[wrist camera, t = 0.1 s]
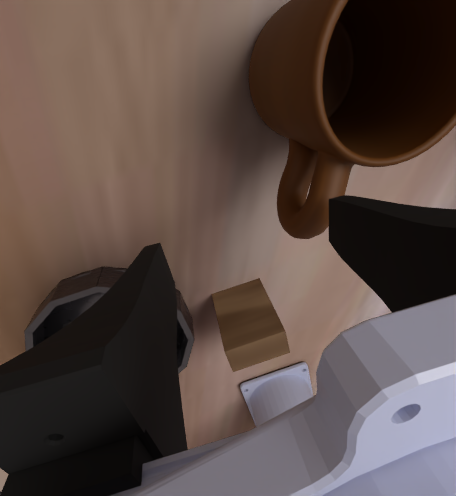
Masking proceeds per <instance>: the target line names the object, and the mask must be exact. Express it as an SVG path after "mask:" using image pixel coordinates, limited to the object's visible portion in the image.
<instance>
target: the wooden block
mask: <svg viewBox="0 0 456 496" xmlns="http://www.w3.org/2000/svg"><path fill="white" fill-rule="evenodd" d="M212 297H213V302H214V306H215V311H216V315H217V320H218V324H219V329H220V333H221V337H222V342H223V346H224V351H225V354H226V356H227V359H228V361H229V363H230V366H231V368H232V371H233V372H235V371H238V370H241V369H243V368H246V367H249V366H252V365H255V364H258V363H261V362H264V361H267V360H270V359H272V358H275V357H278V356H281V355H284V354H287V353H290V350H289V346H288V341H287V337H286V332H285V330H284V327H283V325H282V323H281V321H280V319H279V317H278V315H277V313H276V311H275V309H274V307H273V305H272V303H271V301H270V299H269V297H268V295H267V293H266V291H265V289H264V287H263V285H262V283H261V281H260V279H256V280H253V281H250V282H247V283H244V284H241V285H238V286H235V287H232V288H229V289H226V290H223V291H220V292H217V293H214V294H212Z"/></svg>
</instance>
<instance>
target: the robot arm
mask: <svg viewBox="0 0 456 496" xmlns="http://www.w3.org/2000/svg"><path fill="white" fill-rule="evenodd" d="M329 242H330V243H331V245H332V246H333V248H334V249H335V250H336V252H337V253H338V254H339V256H340V257H341V258H342V259H343V260H344V261H345V262H346V263H347V264H348V265H349V267H350V268H351V269H352V270H353V271H354V272H355V273H356V274H357V275H358V276H359V277H360V278H361V279H362V280H363V281H364V282H365V283H366V284H367V285H368V286H369V287H370V288H371V289H372V290H373V291H374V292H375V293H376V294H377V295H378V296H379V297H380V298H381V299H382V300H383V302H384V303H385V304H386V305H387V307H388V308H389V309H390V310H391V312H392V313H390V314H386V315H383V316H379V317H376V318H372V319H369V320H366V321H363V322H361V323H359V324H357V325H355V326H353V327H351V328H349V329H347V330H345V331H343V332H341V333H340V334H339V335H338V336H337V337H336V338H335V339H334V340H333V341H332V342H331V343H330V344H329V345H328V346H327V347H326V348H325V349H324V351H323V353H322V356H321V359H320V362H319V365H318V368H317V372H316V376H317V394H316V395H315V396H313V392H312V387H311V381H310V376H309V370H308V366H307V364H306V363H305V362H302V363H299V364H296V365H293V366H290V367H287V368H284V369H281V370H278V371H276V372H273V373H270V374H267V375H264V376H261V377H258V378H255V379H253V380H250V381H247V382H244V383H242V384H241V385H240V388H241V391H242V394H243V396H244V398H245V401H246V403H247V406H248V408H249V411H250V413H251V415H252V418H253V420H254V423H255V425H256V427H255V428H253V429H252V430H250V431H247V432H244V433H240V434H237V435H234V436H231V437H228V438H224V439H221V440H218V441H215V442H211V443H208V444H205V445H202V446H199V447H195V448H192V449H189V450H188V449H187V442H186V435H185V427H184V419H183V411H182V403H181V394H180V385H179V375H178V365H177V297H176V289H175V282H174V280H173V277H172V274H171V271H170V268H169V266H168V263H167V260H166V257H165V255H164V252H163V249H162V246H161V244H160V243H157V244H153V245H149V246H146V247H144V248H143V250H142V251H141V252H140V253H139V255H138V256H137V257H136V259H135V260H134V261H133V262H132V264H131V265H130V266H129V268H128V269H127V270H126V271H125V273H124V274H123V275H122V276H121V277H120V278H119V279H118V280H117V282H116V283H115V284H114V285H113V286H112V287H111V288H110V289H109V290H108V291H107V292H106V293H105V294H104V295H103V296H102V297H101V298H100V299H99V300H98V301H97V302H96V303H94V304H93V305H92V306H91V307H90V308H89V309H87V310H86V311H85V312H84V313H82V314H81V315H80V316H78V317H77V318H76V319H75V320H73V321H72V322H71V323H69V324H68V325H67V326H65V327H64V328H62V329H61V330H59V331H58V332H56V333H55V334H53V335H52V336H50V337H49V338H47V339H46V340H44V341H43V342H41V343H39V344H38V345H36V346H34V347H33V348H31V349H29V350H27V351H26V352H24V353H22V354H20V355H18V356H17V357H15V358H13V359H11V360H10V361H8V362H6V363H4V364H2V365H0V468H1V469H2V470H4V471H5V472H6V473H8V474H9V475H8V477H7V480H6V482H5V485H4V487H3V490H2V492H0V496H456V209H441V208H428V207H419V206H412V205H404V204H398V203H391V202H386V201H380V200H374V199H368V198H363V197H356V196H345V195H342V196H338V197H334V198H331V199H329Z"/></svg>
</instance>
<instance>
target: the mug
mask: <svg viewBox="0 0 456 496" xmlns="http://www.w3.org/2000/svg"><path fill="white" fill-rule="evenodd" d="M249 88H250V93H251V97H252V101H253V104H254V106H255V108H256V110H257V112H258V114H259V116H260V117H261V119H262V120H263V121H264V122H265V123H266V125H267V126H269V127H270V128H271V129H272V130H273V131H275V132H277V133H278V134H280V135H282V136H284V137H286V138H288V139H289V154H288V160H287V164H286V166H285V169H284V172H283V175H282V178H281V181H280V184H279V189H278V195H277V211H278V217H279V221H280V223H281V225H282V227H283V229H284V230H285V231H286V232H287V233H288V234H289V235H291V236H292V237H294V238H300V239H310V238H312V237H315V236H317V235H319V234H321V233H323V232H324V231H325V229H326V228H327V227H328V226H329V199H331V198H334V197H338V196H342V195H345V191H346V187H347V183H348V179H349V175H350V171H351V168H352V166H353V165H354V164H357V165H361V166H368V167H384V166H390V165H395V164H398V163H401V162H404V161H407V160H410V159H412V158H414V157H416V156H418V155H420V154H421V153H423V152H425V151H427V150H428V149H429V148H431V147H432V146H434V145H435V144H436V143H438V142H439V141H440V140H441V139H442V138H443V137H444V136H446V135H447V134H448V133H449V132H450V131H451V130H452V129H453V127H454V126H455V125H456V0H291V1H289V2H288V3H286V4H285V5H284V6H283V7H281V8H280V9H279V10H278V11H277V12H276V13H275V14H274V15H273V16H272V17H271V18H270V20H269V21H268V22H267V23H266V25H265V26H264V28H263V29H262V31H261V33H260V35H259V37H258V39H257V41H256V43H255V46H254V49H253V52H252V56H251V60H250V67H249ZM310 183H311V185H310ZM309 186H310V189H309ZM308 189H309V193H308V196H307V192H308ZM306 197H307V199H306Z"/></svg>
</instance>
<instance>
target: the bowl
mask: <svg viewBox="0 0 456 496" xmlns="http://www.w3.org/2000/svg"><path fill="white" fill-rule="evenodd" d="M126 270H127V269H126V268H113V267H100V268H97V269H94V270H91V271H87V272H83V273H80V274H78V275H75V276H73V277H70V278H67V279H63V280H61V281H60V283H59V284H58V285H57V286H56V287H55V288H54V289H53V290H52V291H51V292H50V293H49V294H48V296H47V297H46V299H45V300H44V301H43V302H42V304H41V305H40V306H39V307H38V309H37V310H36V312H35V314H34V316H33V317H32V319H31V321H30V323H29V324H28V326H27V328H26V330H25V346H26V351H27V350H29V349H31V348H33V347H34V346H36V345H38V344H39V343H41V342H43V341H44V340H46V339H47V338H49V337H50V336H52V335H53V334H55V333H56V332H58V331H59V330H61V329H62V328H64V327H65V326H67V325H68V324H69V323H71V322H72V321H73V320H75V319H76V318H77V317H78V316H80V315H81V314H82V313H84V312H85V311H86V310H87V309H89V308H90V307H91V306H92V305H93V304H94V303H96V302H97V301H98V300H99V299H100V298H101V297H102V296H103V295H104V294H105V293H106V292H107V291H108V290H109V289H110V288H111V287H112V286H113V285H114V284H115V283H116V282H117V280H118V279H119V278H120V277H121V276H122V275H123V274H124V273H125V271H126ZM176 297H177V365H178V374H179V373H180V372H181V371H182V370H183V369H184V368H186V367H187V364H188V360H189V357H190V353H191V349H192V346H193V342H194V332H193V324H192V317H191V315H190V313H189V311H188V308H187V305H186V303H185V301H184V300H183V298H182V295H181V293H180V292H179V291H178V290H177V289H176Z"/></svg>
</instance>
